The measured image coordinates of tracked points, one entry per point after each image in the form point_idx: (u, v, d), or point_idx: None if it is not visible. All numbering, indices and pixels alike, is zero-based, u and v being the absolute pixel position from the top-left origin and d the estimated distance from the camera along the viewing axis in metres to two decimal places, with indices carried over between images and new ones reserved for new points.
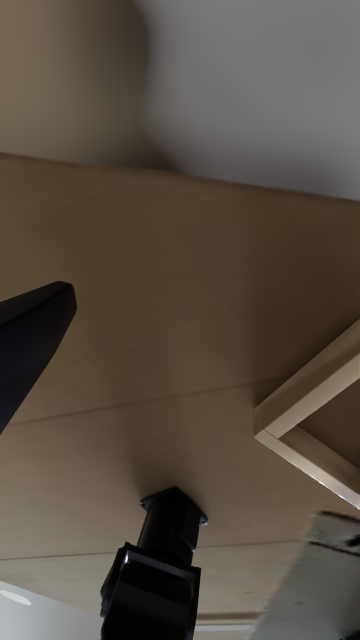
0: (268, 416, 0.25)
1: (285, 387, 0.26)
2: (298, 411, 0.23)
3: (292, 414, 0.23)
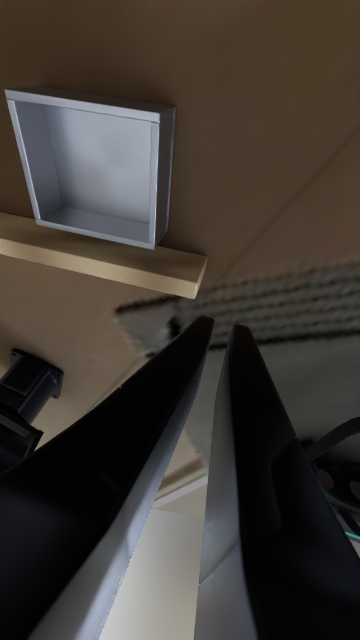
0: None
1: None
2: None
3: None
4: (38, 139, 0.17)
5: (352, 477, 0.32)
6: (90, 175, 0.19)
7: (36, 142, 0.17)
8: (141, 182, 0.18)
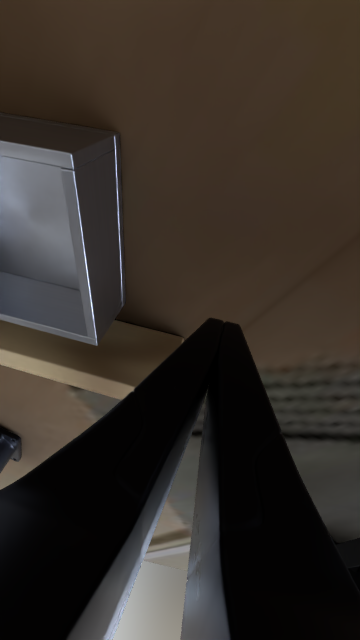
0: None
1: None
2: None
3: None
4: None
5: None
6: (5, 228, 0.13)
7: None
8: None
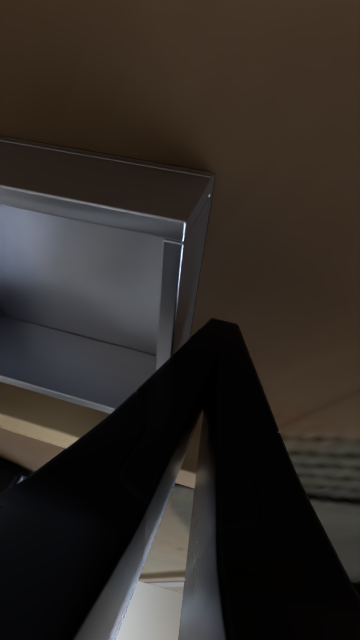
0: None
1: None
2: None
3: None
4: None
5: None
6: (45, 280, 0.10)
7: None
8: (139, 299, 0.10)
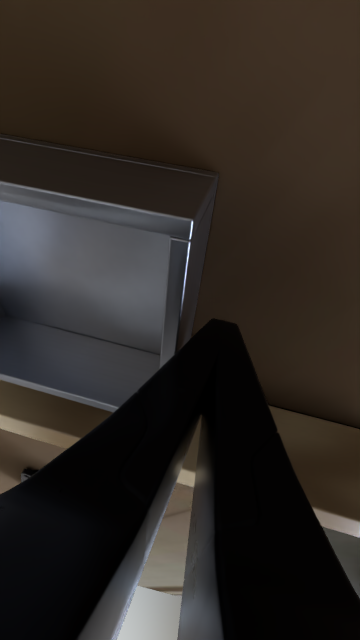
0: None
1: None
2: None
3: None
4: None
5: None
6: (48, 278, 0.10)
7: None
8: (142, 298, 0.10)
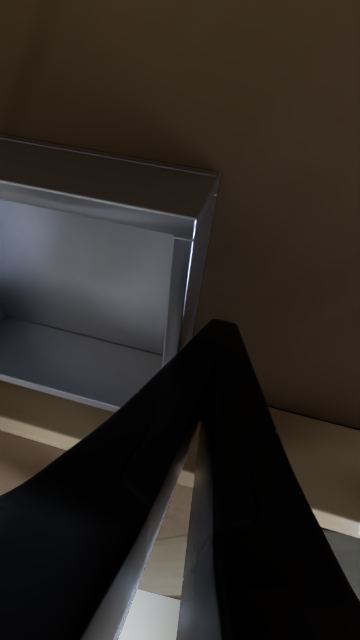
0: None
1: None
2: None
3: None
4: None
5: None
6: (49, 279, 0.10)
7: None
8: (143, 298, 0.10)
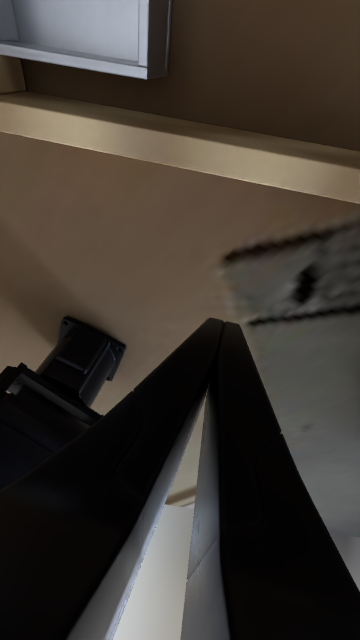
0: None
1: None
2: None
3: None
4: None
5: None
6: None
7: None
8: None
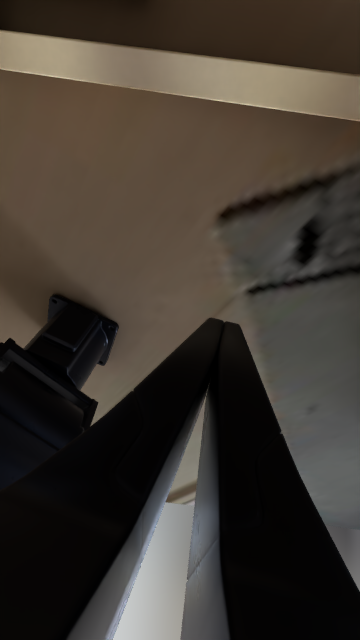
0: None
1: None
2: None
3: None
4: None
5: None
6: None
7: None
8: None
